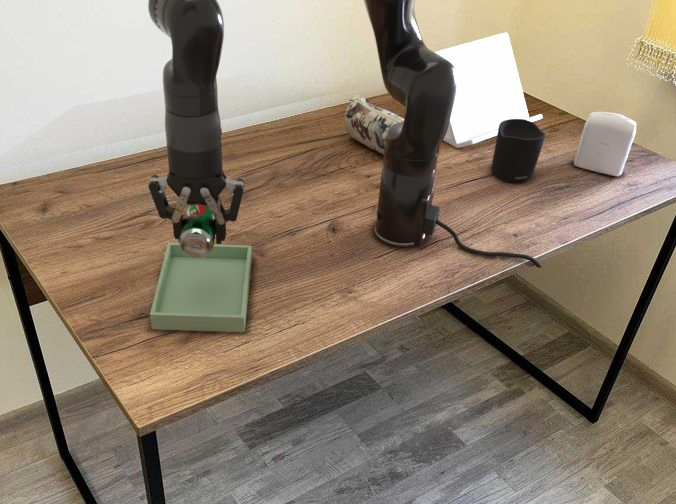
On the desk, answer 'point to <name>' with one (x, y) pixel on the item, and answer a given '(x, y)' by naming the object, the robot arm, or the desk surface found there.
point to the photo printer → (605, 143)
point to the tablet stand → (484, 90)
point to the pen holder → (517, 150)
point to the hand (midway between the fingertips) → (200, 240)
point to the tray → (203, 290)
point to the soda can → (197, 231)
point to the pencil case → (369, 123)
